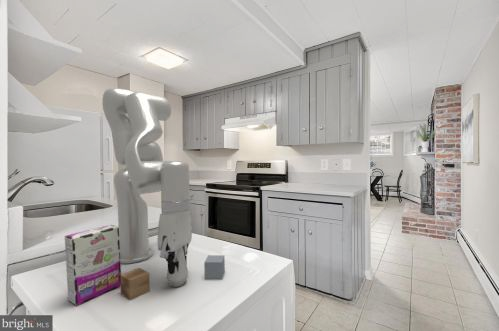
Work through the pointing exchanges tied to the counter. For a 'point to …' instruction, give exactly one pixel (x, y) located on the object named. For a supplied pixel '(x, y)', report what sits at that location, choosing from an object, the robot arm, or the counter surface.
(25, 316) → the counter surface
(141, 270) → the walnut block
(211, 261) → the slate-grey block
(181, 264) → the salt shaker
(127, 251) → the robot arm
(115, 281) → the candy bar box
